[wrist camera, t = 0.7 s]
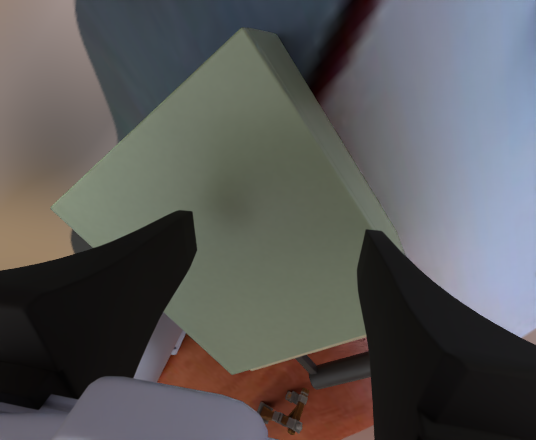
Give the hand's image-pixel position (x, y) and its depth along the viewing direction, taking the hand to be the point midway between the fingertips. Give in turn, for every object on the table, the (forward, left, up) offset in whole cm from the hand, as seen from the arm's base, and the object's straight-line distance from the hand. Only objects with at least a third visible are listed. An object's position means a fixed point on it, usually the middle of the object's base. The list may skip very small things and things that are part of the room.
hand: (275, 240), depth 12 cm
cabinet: (-3, +1, -10) cm, 10 cm away
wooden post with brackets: (-27, -12, -10) cm, 31 cm away
